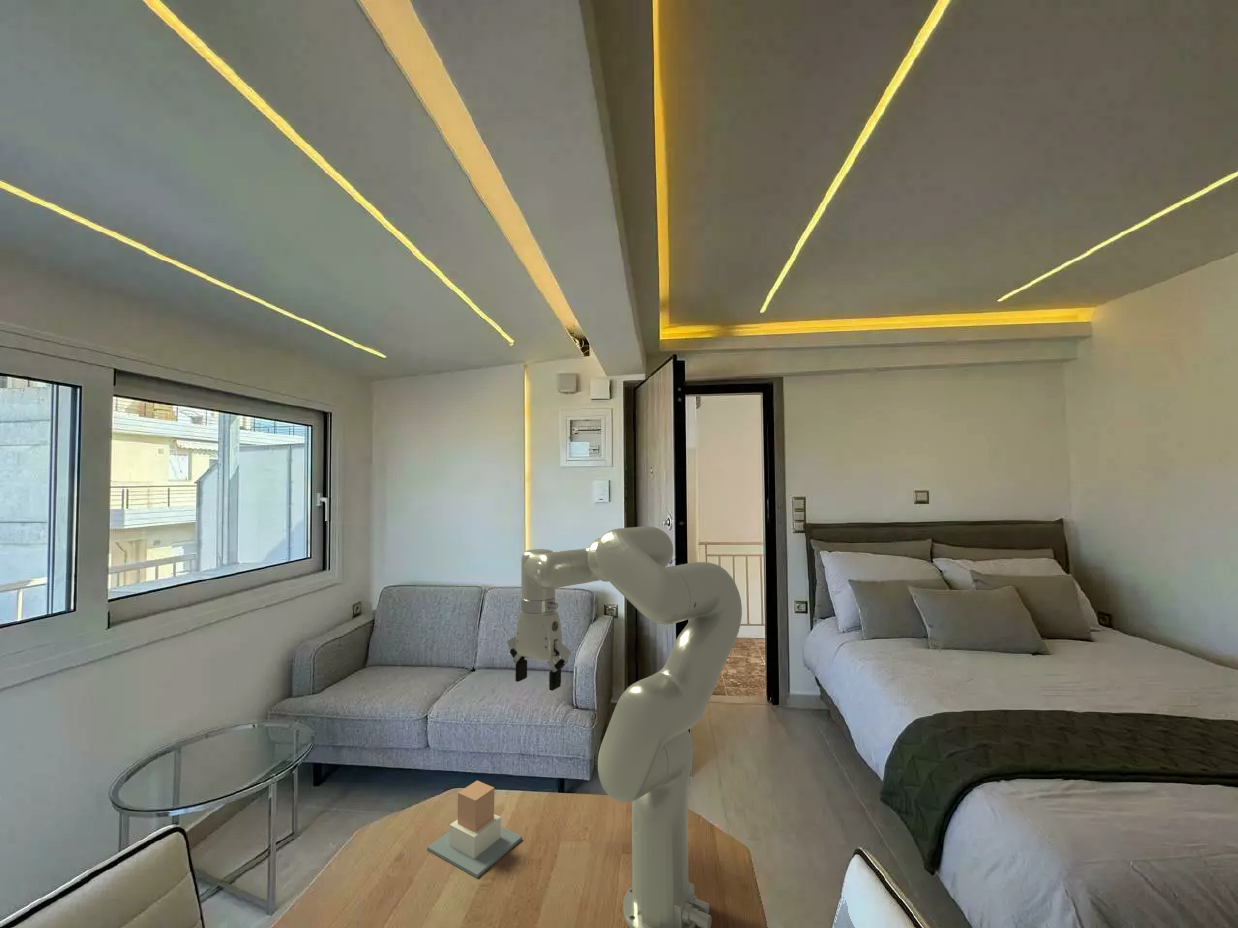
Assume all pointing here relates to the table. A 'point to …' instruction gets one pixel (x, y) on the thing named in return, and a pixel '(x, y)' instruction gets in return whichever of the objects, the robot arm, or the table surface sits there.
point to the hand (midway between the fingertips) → (537, 683)
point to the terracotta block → (475, 806)
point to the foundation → (475, 846)
